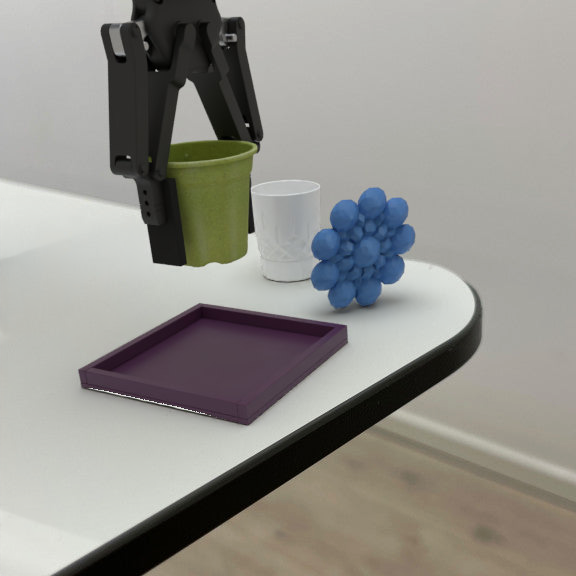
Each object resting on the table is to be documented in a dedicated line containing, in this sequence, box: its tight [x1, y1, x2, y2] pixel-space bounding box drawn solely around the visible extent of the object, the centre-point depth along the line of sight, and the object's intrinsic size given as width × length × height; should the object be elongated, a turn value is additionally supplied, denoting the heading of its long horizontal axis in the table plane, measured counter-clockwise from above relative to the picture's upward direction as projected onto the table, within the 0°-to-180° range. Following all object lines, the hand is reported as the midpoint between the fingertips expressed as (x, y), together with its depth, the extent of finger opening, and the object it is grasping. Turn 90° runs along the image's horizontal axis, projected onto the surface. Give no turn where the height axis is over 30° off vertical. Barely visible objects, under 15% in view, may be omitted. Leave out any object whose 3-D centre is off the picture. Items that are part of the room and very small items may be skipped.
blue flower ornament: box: [309, 186, 416, 309], centre depth 77 cm, size 12×7×12 cm, turn 116°
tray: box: [77, 302, 349, 426], centre depth 67 cm, size 17×17×2 cm
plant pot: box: [149, 139, 257, 268], centre depth 61 cm, size 9×9×9 cm
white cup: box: [251, 179, 322, 283], centre depth 87 cm, size 8×8×10 cm
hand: (206, 246), depth 63 cm, fingers closed on plant pot, 9 cm apart
